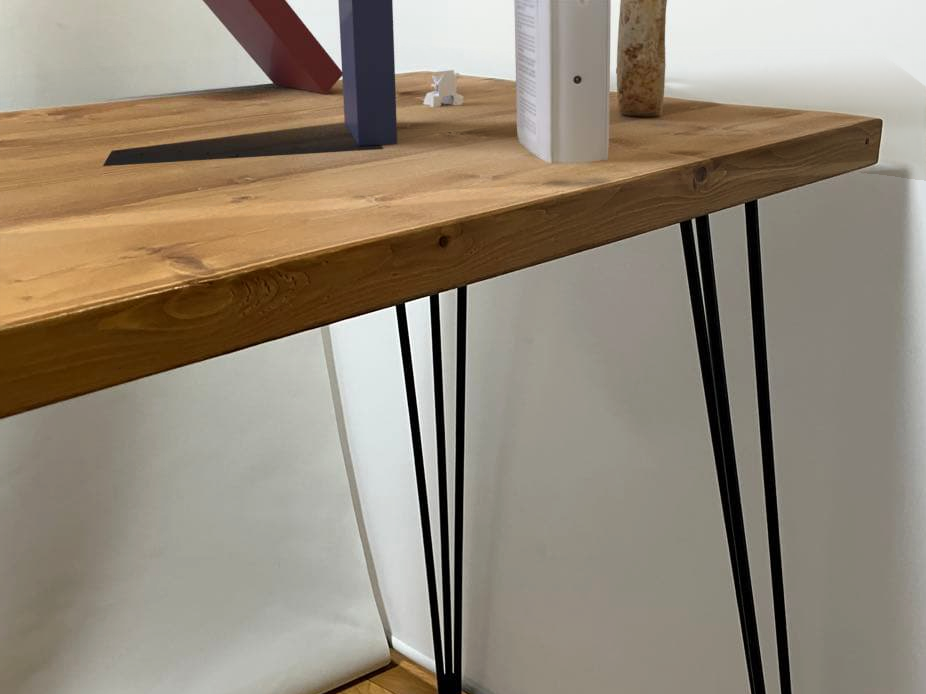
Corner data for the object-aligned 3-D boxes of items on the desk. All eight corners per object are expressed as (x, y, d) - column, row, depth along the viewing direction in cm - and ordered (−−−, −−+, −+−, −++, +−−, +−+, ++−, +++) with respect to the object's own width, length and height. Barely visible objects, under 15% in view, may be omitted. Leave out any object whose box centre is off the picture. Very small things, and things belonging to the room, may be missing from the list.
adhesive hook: (437, 114, 88) (435, 72, 86) (419, 110, 89) (417, 70, 88) (469, 110, 89) (467, 69, 88) (450, 107, 91) (448, 67, 90)
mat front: (103, 174, 67) (101, 166, 67) (122, 140, 78) (121, 133, 78) (385, 156, 71) (384, 149, 70) (363, 126, 82) (363, 119, 82)
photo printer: (617, 169, 65) (620, -58, 61) (547, 174, 64) (543, -57, 60) (573, 141, 75) (572, -58, 70) (510, 145, 74) (505, -57, 69)
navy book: (347, -93, 66) (389, -92, 67) (333, -88, 75) (370, -88, 76) (358, 145, 71) (397, 144, 72) (344, 123, 80) (379, 122, 81)
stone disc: (623, 108, 89) (624, -26, 85) (669, 108, 88) (673, -27, 84) (610, 129, 79) (611, -21, 75) (663, 129, 79) (666, -22, 75)
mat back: (157, 122, 86) (156, 115, 86) (101, 105, 96) (100, 99, 95) (350, 100, 96) (349, 94, 96) (282, 87, 105) (281, 82, 105)
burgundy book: (214, -42, 87) (236, -63, 87) (166, -42, 94) (186, -62, 95) (325, 94, 96) (344, 74, 96) (273, 84, 103) (291, 65, 104)
